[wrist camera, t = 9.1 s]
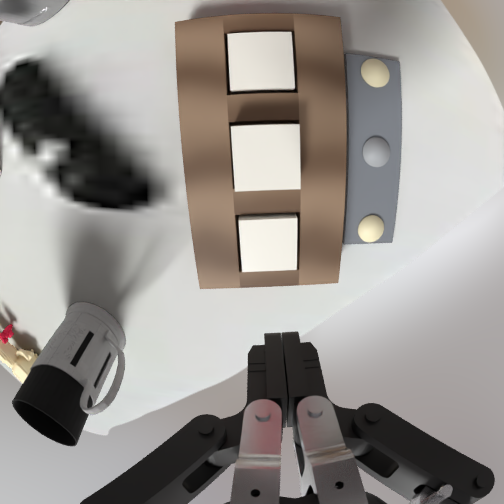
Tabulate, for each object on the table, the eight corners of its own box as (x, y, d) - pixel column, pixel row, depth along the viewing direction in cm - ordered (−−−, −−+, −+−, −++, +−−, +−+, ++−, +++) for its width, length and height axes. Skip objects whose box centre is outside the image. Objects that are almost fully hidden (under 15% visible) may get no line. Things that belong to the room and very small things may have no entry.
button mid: (233, 125, 20) (230, 126, 18) (293, 123, 20) (299, 124, 17) (237, 182, 22) (235, 191, 19) (294, 180, 22) (300, 189, 19)
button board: (183, 32, 18) (175, 22, 16) (330, 27, 18) (340, 17, 15) (204, 271, 28) (200, 288, 25) (330, 266, 28) (338, 282, 25)
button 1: (240, 208, 25) (238, 220, 22) (292, 206, 25) (297, 218, 22) (243, 255, 27) (242, 272, 24) (292, 253, 26) (296, 269, 24)
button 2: (230, 43, 19) (227, 33, 16) (286, 42, 18) (291, 32, 16) (233, 93, 21) (230, 90, 18) (289, 92, 20) (294, 88, 18)
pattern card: (344, 54, 19) (346, 52, 18) (397, 62, 19) (400, 61, 18) (342, 242, 26) (344, 245, 26) (390, 240, 26) (393, 243, 26)
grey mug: (54, 313, 31) (-4, 396, 17) (128, 275, 28) (59, 386, 15) (95, 360, 34) (55, 447, 21) (173, 335, 32) (140, 451, 18)
